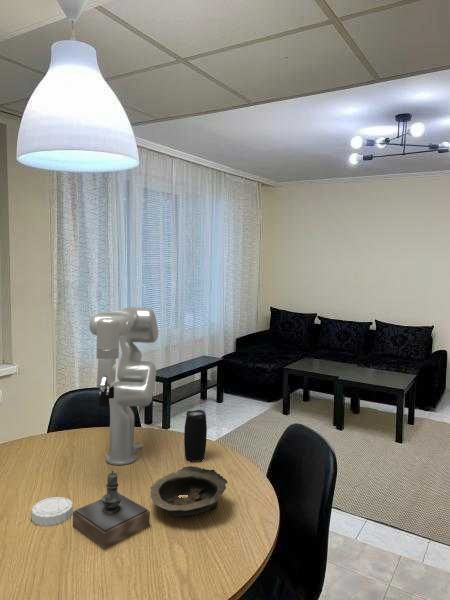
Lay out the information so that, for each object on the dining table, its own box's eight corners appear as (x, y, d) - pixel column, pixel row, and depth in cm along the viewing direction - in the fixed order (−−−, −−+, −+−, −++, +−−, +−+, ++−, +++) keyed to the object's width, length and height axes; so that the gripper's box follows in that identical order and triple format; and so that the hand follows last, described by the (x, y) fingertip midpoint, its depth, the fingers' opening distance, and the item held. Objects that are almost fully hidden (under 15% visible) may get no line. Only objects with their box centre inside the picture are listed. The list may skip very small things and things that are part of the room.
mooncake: (31, 509, 141) (31, 498, 141) (71, 503, 146) (71, 492, 146) (31, 530, 131) (31, 518, 130) (74, 522, 135) (74, 510, 135)
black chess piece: (116, 515, 130) (117, 475, 129) (97, 513, 131) (98, 473, 131) (125, 505, 136) (125, 467, 135) (107, 503, 137) (107, 464, 136)
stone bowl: (235, 496, 154) (236, 470, 152) (209, 541, 130) (209, 512, 129) (170, 481, 162) (170, 457, 160) (134, 522, 138) (134, 494, 137)
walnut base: (117, 506, 145) (117, 491, 145) (149, 525, 134) (149, 509, 134) (72, 526, 133) (72, 510, 132) (104, 549, 122) (104, 531, 122)
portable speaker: (179, 460, 182) (180, 412, 181) (193, 452, 190) (194, 407, 189) (196, 465, 177) (197, 417, 176) (209, 457, 185) (211, 411, 184)
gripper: (101, 349, 163) (100, 395, 164) (91, 358, 146) (90, 409, 147) (122, 349, 164) (121, 395, 165) (114, 358, 147) (113, 409, 148)
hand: (106, 402), depth 156 cm, fingers open, 9 cm apart
